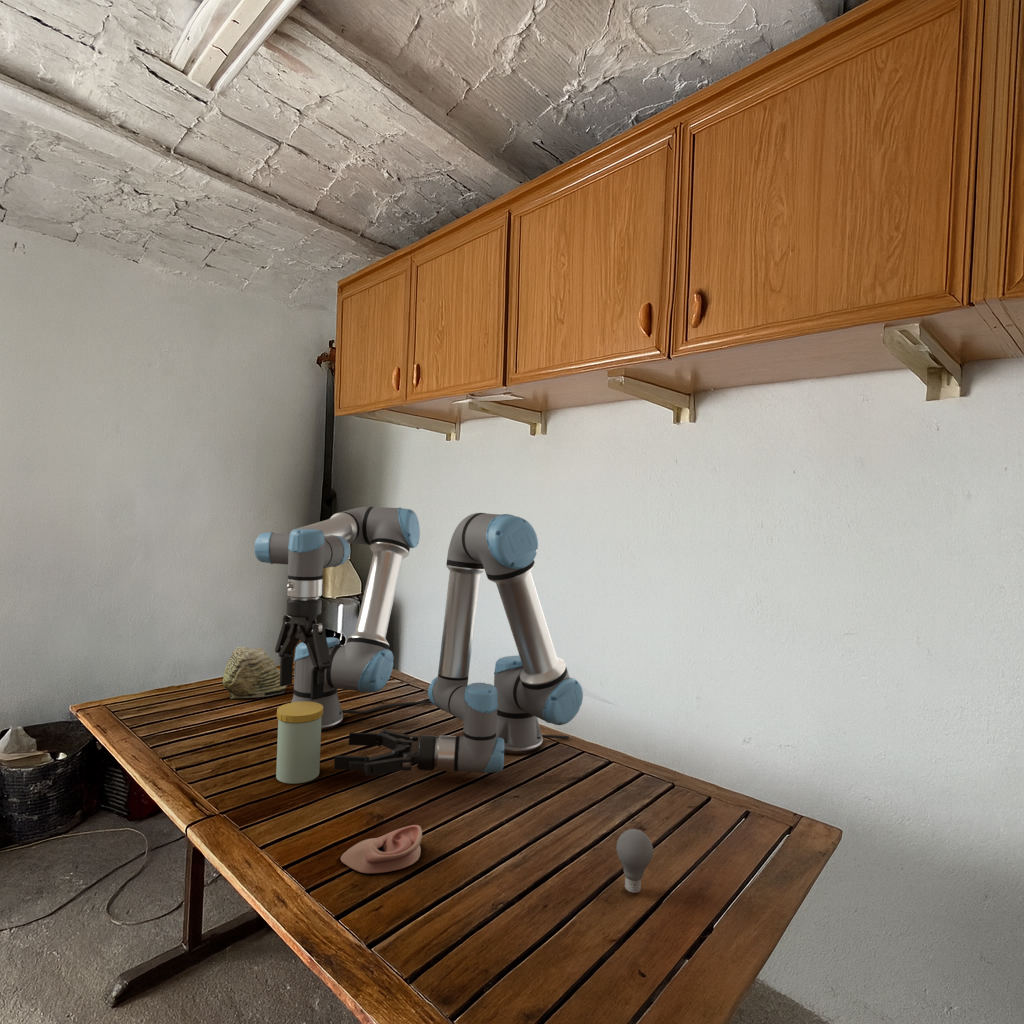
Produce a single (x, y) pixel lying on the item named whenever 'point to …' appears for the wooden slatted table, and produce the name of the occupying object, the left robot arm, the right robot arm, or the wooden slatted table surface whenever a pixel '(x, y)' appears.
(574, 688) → the right robot arm
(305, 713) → the lid
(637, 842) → the light bulb
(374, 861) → the anatomical model
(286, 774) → the jar
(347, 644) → the left robot arm
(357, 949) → the wooden slatted table surface
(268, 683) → the fossil
